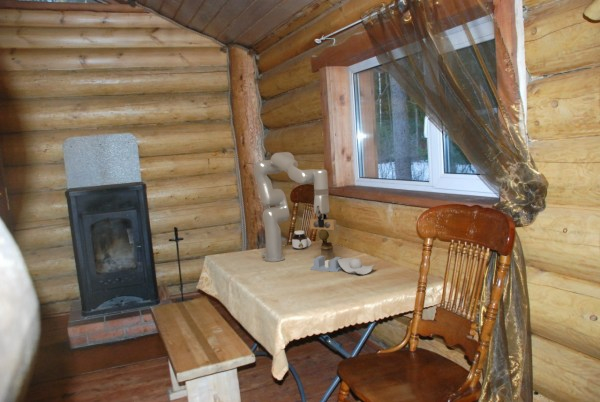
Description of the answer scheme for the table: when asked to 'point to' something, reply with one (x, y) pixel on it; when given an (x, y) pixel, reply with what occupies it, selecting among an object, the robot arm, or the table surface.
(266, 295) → the table surface
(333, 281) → the table surface
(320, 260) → the display stand
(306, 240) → the spread jar
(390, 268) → the table surface
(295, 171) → the robot arm
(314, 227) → the tan wooden plank
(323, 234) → the wooden mug
